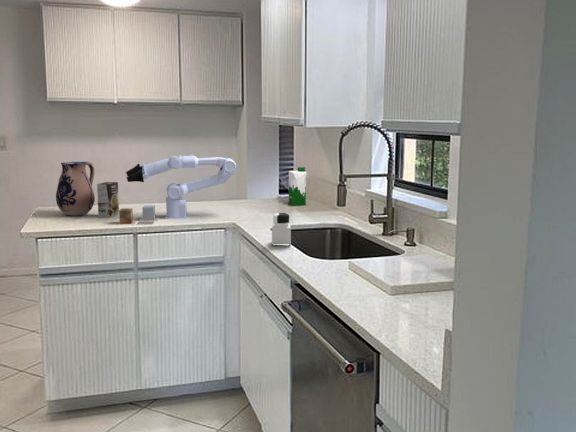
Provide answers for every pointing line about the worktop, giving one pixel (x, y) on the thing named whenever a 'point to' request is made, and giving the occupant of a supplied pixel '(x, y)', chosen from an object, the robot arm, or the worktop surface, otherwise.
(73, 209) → the ceramic pitcher
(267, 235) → the worktop surface
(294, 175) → the milk carton
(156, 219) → the code tile
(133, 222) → the code tile
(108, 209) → the coffee box
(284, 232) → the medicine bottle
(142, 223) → the rubber pad
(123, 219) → the walnut block
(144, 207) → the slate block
